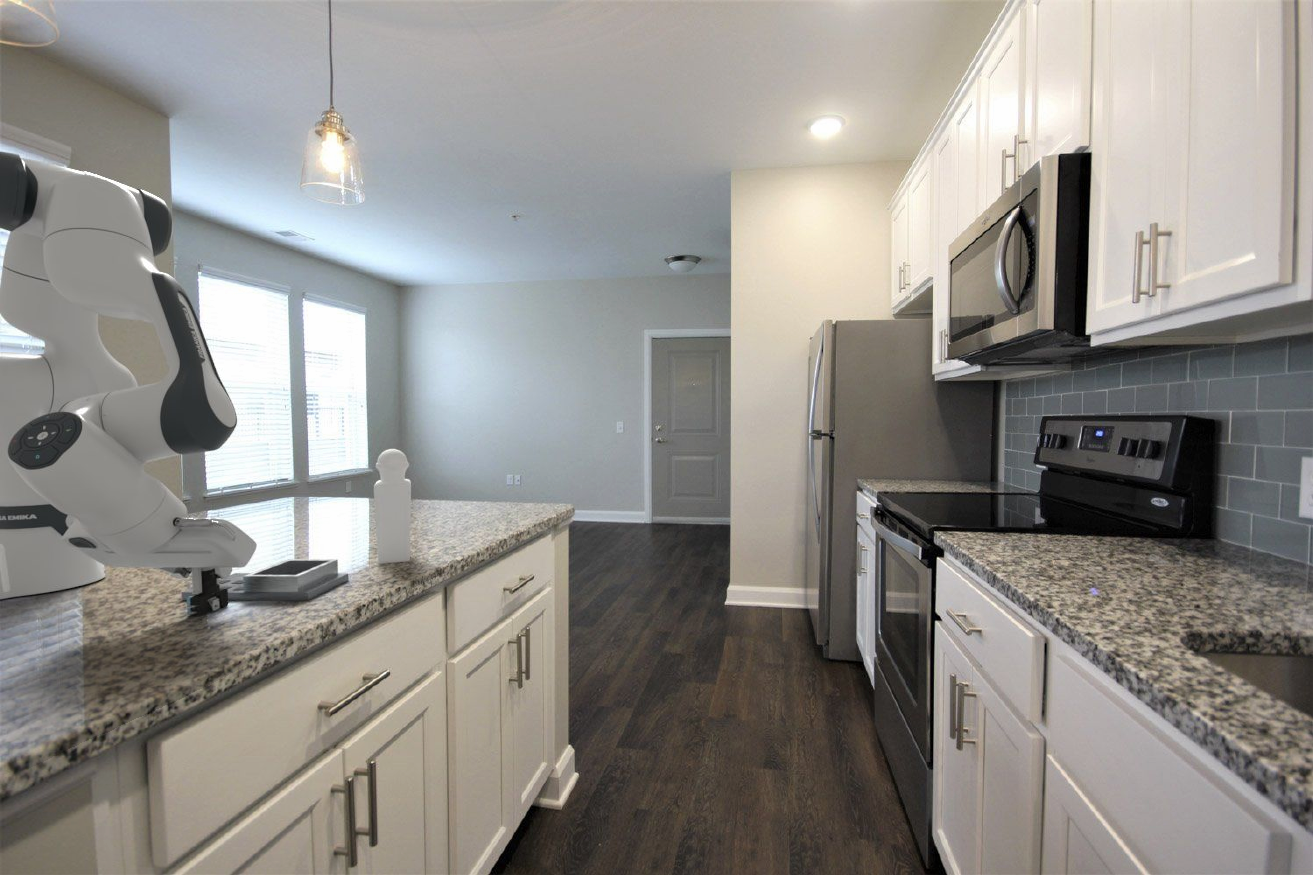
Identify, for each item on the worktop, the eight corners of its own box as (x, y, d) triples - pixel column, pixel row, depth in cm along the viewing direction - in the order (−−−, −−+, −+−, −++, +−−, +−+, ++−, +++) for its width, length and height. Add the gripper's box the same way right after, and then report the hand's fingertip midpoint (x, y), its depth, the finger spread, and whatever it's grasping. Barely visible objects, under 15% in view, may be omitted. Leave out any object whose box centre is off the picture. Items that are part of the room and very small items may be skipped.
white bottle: (412, 561, 113) (410, 449, 112) (375, 565, 110) (372, 450, 109) (412, 554, 119) (410, 447, 118) (377, 557, 116) (374, 448, 115)
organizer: (181, 599, 90) (181, 576, 89) (235, 579, 101) (234, 558, 100) (308, 600, 89) (307, 576, 89) (348, 580, 100) (347, 559, 100)
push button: (199, 620, 80) (195, 549, 80) (164, 619, 81) (161, 548, 81) (239, 605, 87) (236, 539, 87) (207, 604, 88) (204, 538, 87)
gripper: (233, 499, 76) (285, 555, 86) (82, 499, 77) (151, 555, 87) (206, 540, 72) (264, 594, 82) (47, 540, 72) (124, 593, 82)
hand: (205, 574), depth 84 cm, fingers closed on push button, 5 cm apart
